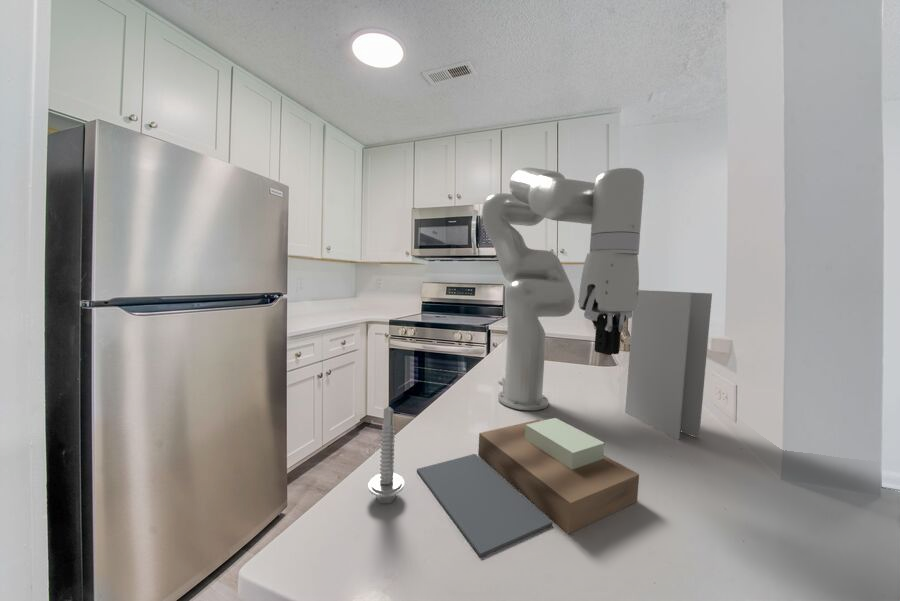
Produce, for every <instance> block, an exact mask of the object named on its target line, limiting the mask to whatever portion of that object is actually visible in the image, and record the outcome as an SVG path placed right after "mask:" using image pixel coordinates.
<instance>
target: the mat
mask: <svg viewBox="0 0 900 601" xmlns="http://www.w3.org/2000/svg"><path fill="white" fill-rule="evenodd" d="M416 473H417V474H418V475H419V476H420V478H421V479H422V480H423V482H424V483H425V484H426V486H427V488H429V491H431V493H432V494H433V495H434V497H435V498H436V500H437V501H438V503H439V504H441V506H442V508H443V510H444V511H445V512H446V513H447V514H448V516H449V517H450V518H451V520H452V521H453V523H454V524H455V525H456V527H457V528H458V529H459V531H460V532H461V534H462V535H463V536H464V538H465V539H466V540H467V541H468V543H469V544H470V546H471V547H472V548H473V550H474V551H475V552H476V554H477V555H478V556H479V558H481V557H484V556H486V555H489V554H491V553H493V552H495V551H497V550H499V549H502V548H504V547H506V546H509V545H511V544H513V543H515V542H518V541H520V540H522V539H524V538H526V537H529V536H531V535H533V534H535V533H537V532H539V531H542V530H545V529H546V528H549V527H551V526H553V522H552V520H550V518H549V517H548V516H547V515H546V514H545V513H543V512H542V511H541V510H540V509H539V508H538V507H537V506H536V505H534V504H533V503H532V502H531V501H530V500H529V499H528V498H527V497H525V496H524V495H523V494H522V493H521V492H520V491H519V490H517V489H516V488H515V487H514V486H513V485H512V484H511V483H509V482H508V481H507V480H506V479H505V478H504V477H503V476H501V475H500V474H499V473H498V472H497V471H496V470H495V469H493V468H491V466H490V465H489V464H488V463H487V462H486V461H484V460H483V459H482V458H481V457H480V456H479V455H478V454H476V453H473V454H469V455H466V456H462V457H457V458H453V459H450V460H446V461H442V462H439V463H433V464H432V465H431V464H430V465H427V466H424V467H423V466H422V467H420V468H419V467H418V468H416Z"/></svg>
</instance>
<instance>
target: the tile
mask: <svg viewBox="0 0 900 601" xmlns="http://www.w3.org/2000/svg"><path fill="white" fill-rule="evenodd" d="M525 439H526V440H527V441H529V442H530V443H532V444H533V445H535V446H536V447H538V448H540V449H541V450H543V451H544V452H546V453H547V454H549V455H550V456H552V457H553V458H555V459H556V460H558V461H559V462H561V463H562V464H564V465H566V466H567V467H569V468H570V469H575V468H578V467H581V466H584V465H587V464H590V463H592V462H595V461H598V460H601V459H604V455H605V442H604V441H602V440H600V439H598V438H596V437H594V436H592V435H590V434H588V433H586V432H584V431H582V430H580V429H578V428H576V427H574V426H572V425H570V424H568V423H566V422H564V421H562V420H560V419H559V418H556V417H553V418H547V419H544V420H541V421H539V422H535V423H531V424H526V427H525Z"/></svg>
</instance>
